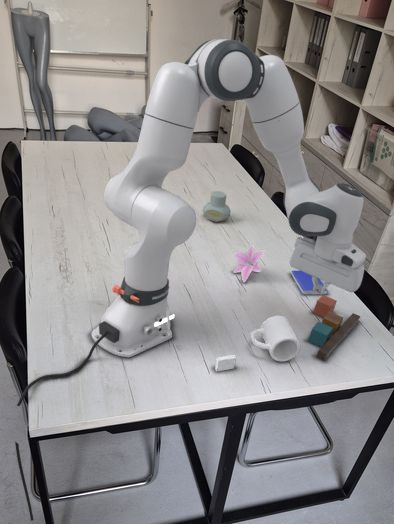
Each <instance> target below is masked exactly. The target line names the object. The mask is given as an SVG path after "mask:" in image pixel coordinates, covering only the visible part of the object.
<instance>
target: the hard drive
mask: <svg viewBox="0 0 394 524" xmlns="http://www.w3.org/2000/svg"><path fill="white" fill-rule="evenodd" d="M290 275H291V277H292V278H293V280H294V281H295V283H296V285H297V286H298V288H299V290H300V291H301V293H302V295H321V294H320V293H318V292H315V291H313V287H314V285H313V281H312V275H309V274H307V273H305V272H302V271H300V270H291V272H290ZM318 282H319V284H320V285H322V286H325V284H324V282H322V280H321V279H318ZM327 294H328V289H327V288H326V289H325V292H324V293H323V294H322V295H327Z"/></svg>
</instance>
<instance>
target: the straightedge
mask: <svg viewBox="0 0 394 524" xmlns="http://www.w3.org/2000/svg"><path fill="white" fill-rule="evenodd" d="M360 319H361V315H359V314H357V313H354V312H352V313H351V315H350V316H349V317H347V319H346V320H345V321H344V322H342V324H341V327H340V328H339V329H338V330H337V331H336V332H335V333H334V334H333V335H332V336H330V338H329V340H328V341H327V342H326V343H325V344H324V345H323V346H322V347H319V349H318V351H317V354H316V358H317V359H319V360H322V361H324V362H325V361H326V360H327V359H328V357H330V355H331V354H332V353H333V352H334V351H335V350H336V348H337V347H338V346H339V345H340V344H341V343H342V341H343V340H345V338H346V337H347V336H348V335H349V334H350V333H351V331H352V330H354V328H355V327H356V326H357V325H358V323H359V321H360Z"/></svg>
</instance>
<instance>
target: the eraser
mask: <svg viewBox="0 0 394 524" xmlns="http://www.w3.org/2000/svg"><path fill="white" fill-rule="evenodd" d="M236 362H237V357H236V355H235V354H230V355H224V356H219V357H216V360H215V366H214V369H215V371H216V372H223V371H228V370H233V369H235V366H236Z"/></svg>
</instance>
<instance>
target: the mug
mask: <svg viewBox="0 0 394 524" xmlns="http://www.w3.org/2000/svg"><path fill="white" fill-rule="evenodd" d="M256 335H257V336H258V335H261V336H262V339H263V341H264V342H261V341H259V340H257V339H256V337H255V336H256ZM249 339H250V341H251V343H252V344H253V345H254V346H256V347H257V348H259V349H262V350H267V351H268V352H269V355H270V357H271V358H272V359H273V360H274V361H277V362H287V361H290V360H293V359H294V358H295V357H296V356H298V354H299V353H300V351H301V343H300V341H299V339H298V337H297V335H296V333H295V331H294V329H293V327H292V325H291V324H290V322H289V319H287V318H286V317H285V316H283V315H273V316H270V317H268V318H267V319H265V320H264V321H263V323H262V324H261V326H260V328H257V329H254V330H252V331H251V332H250V334H249Z"/></svg>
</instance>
